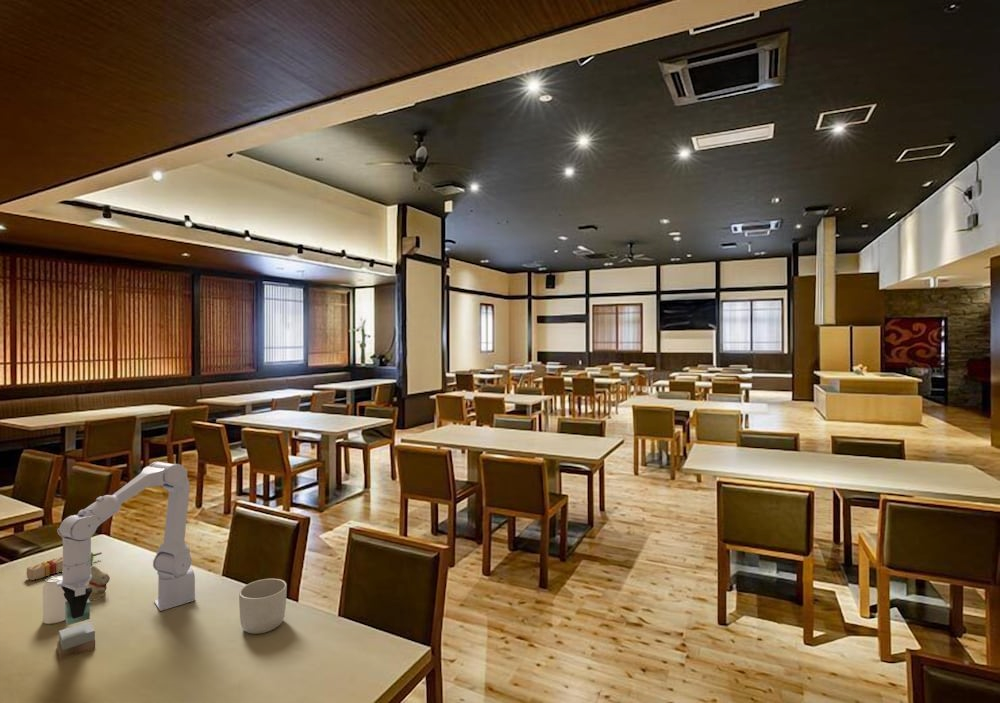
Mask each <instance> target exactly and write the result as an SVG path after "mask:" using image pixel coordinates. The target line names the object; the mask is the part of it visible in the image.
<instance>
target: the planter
mask: <svg viewBox="0 0 1000 703" xmlns="http://www.w3.org/2000/svg"><path fill="white" fill-rule="evenodd" d="M287 585H288V584H287V582H286V581H285V580H283V579H281V578H264V579H258V580H255V581H252V582H249V583H247V584H246V585H244V586H243V587H241V588H240V590H239V592H238V596H239V599H238V600H239V601H238V602H239V603H238V606H239V621H240V626H241V628H242V630H243V631H245V632H246V633H247V634H248V633H249V634H254V635H256V634H257V635H258V634H259V635H260V634H264V633H268V632H271V631H273V630H275V629H276V628H277V627H279V626H280V625H281V624H282V623H283V621H284V619H285V614H286V609H287V590H288V589H287V588H288V587H287Z"/></svg>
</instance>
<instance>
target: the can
mask: <svg viewBox="0 0 1000 703" xmlns="http://www.w3.org/2000/svg"><path fill="white" fill-rule="evenodd" d="M62 580H63V573H57V574H54V575H50V576H48V577H46V579H45V580H44V584H43V586H42V623H44V624H45V625H55V624H60V623H62V622H64V621H65V622H66V619H65V602H66V601H67V600H66V598H65V597H64V593H65V592H64V591H63V589H62V588H61V586H60V587H57V585H56V583H57V582H59V581H62Z"/></svg>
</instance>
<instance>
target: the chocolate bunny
mask: <svg viewBox="0 0 1000 703" xmlns="http://www.w3.org/2000/svg"><path fill="white" fill-rule="evenodd" d="M91 575H92V578H91V580H90V581H89V583H88V584H87V586H86V589H87V588H91V587H92V589H93V590H92V593H91V594H90V596H89V598H88V599H89V601H94V599H95V600H98V599H102V598H104V597H106V595H107V592H106V591H107V584H108V583H109V581H110V580H111V579H110V575H109V574H108V573H107V572H103V571H101V570H100V568H98V567H97V566H95V565H91ZM103 596H104V597H103ZM101 597H102V598H101Z"/></svg>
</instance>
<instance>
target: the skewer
mask: <svg viewBox="0 0 1000 703" xmlns="http://www.w3.org/2000/svg"><path fill="white" fill-rule="evenodd" d="M102 554H103V553H102V552H101V551H100V552H97V553H93V552H92V551H91V564H92V563H93V561H94V558H95V557H96V556H99V555H102ZM62 571H63V556H61V557H58V558H52V559H50V560H47V561H45V562H41V563H39V564H36V565H33V566H29V567H27V568H26V578H27V579H28V580H30V581H35V579H36V580H38V579H42V578H45V577H46V576H48V577H50V576H51V575H50V574H54V575H56V574H55V573H57V574H60V573H59V572H62ZM62 573H63V572H62ZM49 575H50V576H49Z"/></svg>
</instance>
